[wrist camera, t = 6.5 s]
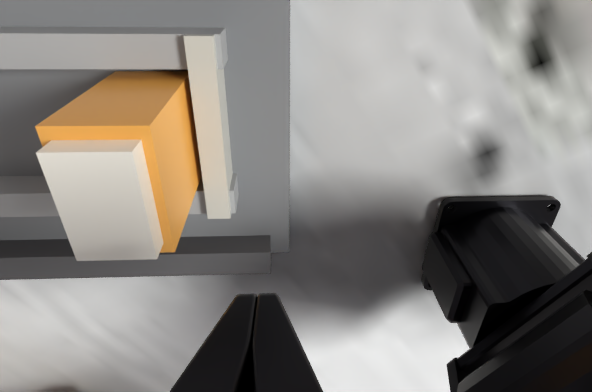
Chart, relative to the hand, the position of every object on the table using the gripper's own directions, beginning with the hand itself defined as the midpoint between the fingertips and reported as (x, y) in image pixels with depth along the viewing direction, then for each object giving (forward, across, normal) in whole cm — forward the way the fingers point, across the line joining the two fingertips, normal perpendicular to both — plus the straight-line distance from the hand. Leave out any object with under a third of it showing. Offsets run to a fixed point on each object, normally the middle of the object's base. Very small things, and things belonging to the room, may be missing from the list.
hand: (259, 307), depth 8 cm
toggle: (+10, +5, 0) cm, 11 cm away
